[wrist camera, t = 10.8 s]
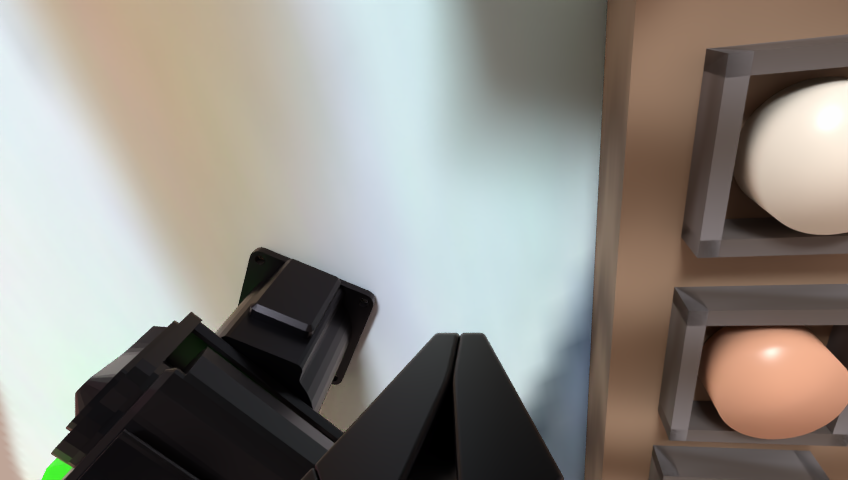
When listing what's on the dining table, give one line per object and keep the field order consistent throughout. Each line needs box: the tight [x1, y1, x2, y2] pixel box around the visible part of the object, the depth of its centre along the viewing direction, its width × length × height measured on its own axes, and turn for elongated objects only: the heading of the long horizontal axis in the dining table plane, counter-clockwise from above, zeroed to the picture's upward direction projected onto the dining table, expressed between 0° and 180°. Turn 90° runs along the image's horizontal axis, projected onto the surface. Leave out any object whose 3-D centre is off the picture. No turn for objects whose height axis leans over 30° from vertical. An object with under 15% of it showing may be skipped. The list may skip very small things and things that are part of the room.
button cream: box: [733, 76, 848, 235], centre depth 13 cm, size 4×4×2 cm
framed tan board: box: [584, 0, 848, 480], centre depth 19 cm, size 26×10×6 cm, turn 6°
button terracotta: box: [698, 325, 848, 439], centre depth 17 cm, size 4×4×2 cm
